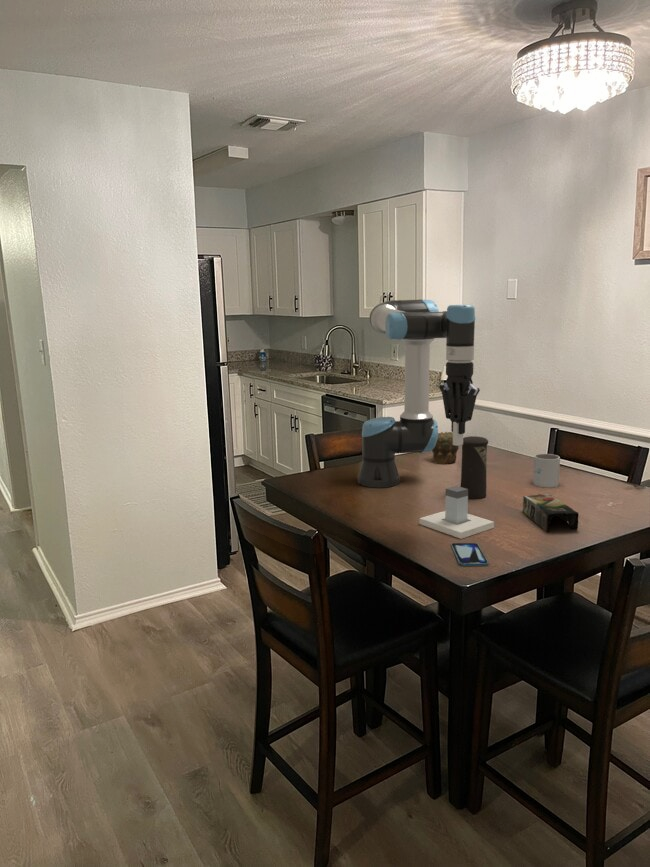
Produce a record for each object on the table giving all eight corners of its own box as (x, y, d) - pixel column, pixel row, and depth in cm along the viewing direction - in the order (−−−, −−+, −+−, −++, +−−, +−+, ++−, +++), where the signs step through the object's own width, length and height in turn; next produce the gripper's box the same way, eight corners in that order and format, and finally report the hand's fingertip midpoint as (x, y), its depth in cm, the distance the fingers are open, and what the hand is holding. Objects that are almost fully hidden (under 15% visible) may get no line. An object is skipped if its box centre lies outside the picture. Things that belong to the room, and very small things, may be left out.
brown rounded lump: (460, 459, 271) (461, 430, 268) (454, 465, 261) (455, 436, 259) (435, 457, 275) (435, 429, 273) (427, 463, 265) (428, 434, 263)
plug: (445, 524, 192) (445, 488, 190) (455, 521, 195) (456, 485, 193) (456, 528, 189) (457, 491, 186) (467, 525, 191) (468, 489, 189)
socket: (419, 524, 194) (419, 518, 194) (452, 514, 202) (452, 508, 202) (460, 538, 181) (461, 532, 181) (493, 527, 190) (494, 521, 189)
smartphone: (477, 542, 177) (489, 563, 163) (477, 546, 178) (489, 567, 163) (450, 542, 178) (459, 563, 163) (450, 546, 178) (459, 567, 163)
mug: (560, 487, 228) (561, 459, 226) (534, 487, 230) (535, 459, 228) (555, 478, 240) (556, 451, 238) (530, 477, 241) (531, 451, 239)
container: (487, 499, 216) (489, 440, 212) (459, 498, 218) (460, 439, 214) (486, 492, 224) (488, 434, 220) (459, 491, 226) (460, 434, 222)
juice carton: (519, 510, 205) (520, 492, 204) (549, 509, 206) (551, 491, 204) (545, 533, 185) (546, 513, 184) (579, 532, 186) (580, 512, 185)
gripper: (433, 360, 185) (431, 442, 190) (468, 363, 175) (466, 450, 180) (451, 359, 190) (449, 439, 194) (487, 361, 179) (484, 446, 184)
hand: (457, 444), depth 187 cm, fingers closed
